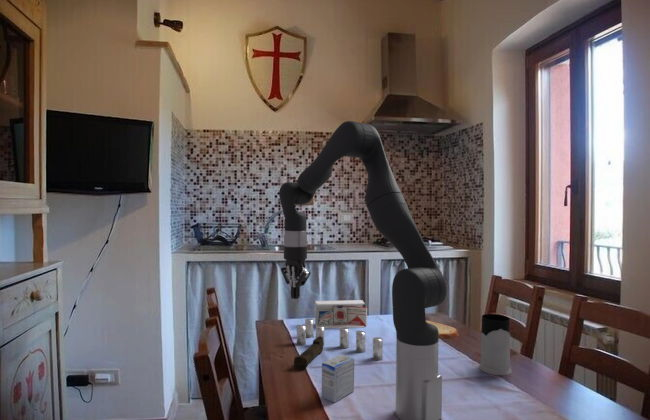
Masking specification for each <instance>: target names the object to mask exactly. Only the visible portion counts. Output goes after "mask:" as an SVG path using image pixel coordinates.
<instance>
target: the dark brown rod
mask: <svg viewBox="0 0 650 420" xmlns="http://www.w3.org/2000/svg"><path fill="white" fill-rule="evenodd" d="M323 350H324V346H323V337H317V338H316V337H315V338H314V339H313V340H312V344H311V345H310V346H308V348H306V349H305V351H303V352H301V354H300V355H298V356H295V357H294V358H293V359H294V360H293V366H294V368H295V369H296V370H303V371H304V370H305V369H307V368H308V365H309V364H310V363H311V362H312V361H313V360H314V359H315V358H316V357H317V356H318V355H321V354H322V353H323Z"/></svg>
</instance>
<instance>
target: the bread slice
mask: <svg viewBox="0 0 650 420" xmlns="http://www.w3.org/2000/svg"><path fill="white" fill-rule="evenodd" d="M426 322H427V323H430V324H433V325H435V326H436V327H437V329H438V332H439V339H453V338H458V337H460V335H459V333H458V332H459V331H458V330H457V329H456V328H455V327H452V326H449V325H446V324H444V323H439V322H434V321H431V320H426Z"/></svg>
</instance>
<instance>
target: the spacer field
mask: <svg viewBox="0 0 650 420" xmlns="http://www.w3.org/2000/svg"><path fill="white" fill-rule="evenodd" d="M304 321H305V322H304V324H298V325H296V344H297V346H304V345H306V340H307V339H308V338H309V339H311V338H314V333H315V339H316V338H317V337H323V347H324V346H325V328H324V326H316V325H315V318H305V319H304ZM314 325H315V332H314ZM349 333H350V328H339V348H340V349H349V346H350V345H349V343H350V340H349V338H350V337H349V336H350V335H349ZM306 338H307V339H306ZM383 341H384V338H382V337H373V338H372V359H373V360H374V361H382V360H383V358H384V357H383V356H384V355H383V353H384V352H383V351H384V349H383V348H384V346H383V343H384V342H383ZM355 351H356V352H357V353H366V331H364V330H357V331H355Z"/></svg>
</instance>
